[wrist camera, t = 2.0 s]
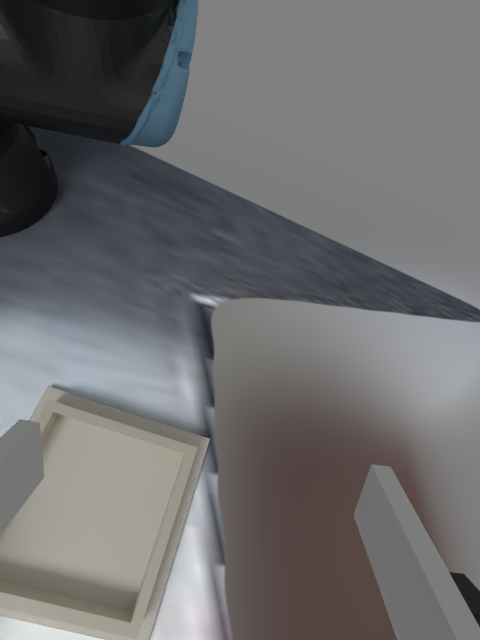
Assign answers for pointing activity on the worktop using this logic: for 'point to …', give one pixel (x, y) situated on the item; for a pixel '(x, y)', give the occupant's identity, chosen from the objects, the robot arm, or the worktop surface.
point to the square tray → (99, 520)
